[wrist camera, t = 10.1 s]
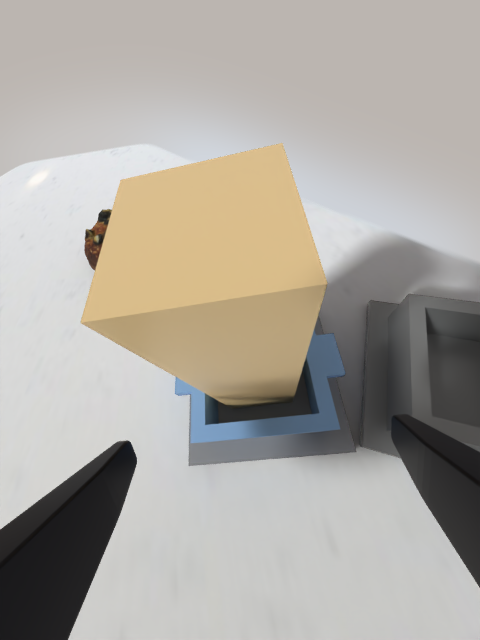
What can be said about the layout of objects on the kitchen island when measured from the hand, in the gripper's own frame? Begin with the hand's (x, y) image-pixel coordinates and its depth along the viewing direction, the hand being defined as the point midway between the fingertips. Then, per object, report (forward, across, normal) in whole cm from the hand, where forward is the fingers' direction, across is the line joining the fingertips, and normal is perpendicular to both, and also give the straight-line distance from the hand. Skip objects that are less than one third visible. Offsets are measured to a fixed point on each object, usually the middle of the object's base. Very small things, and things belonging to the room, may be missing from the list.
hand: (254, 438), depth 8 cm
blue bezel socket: (+8, 0, +3) cm, 9 cm away
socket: (+7, -12, +4) cm, 14 cm away
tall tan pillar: (+8, 0, +2) cm, 8 cm away
